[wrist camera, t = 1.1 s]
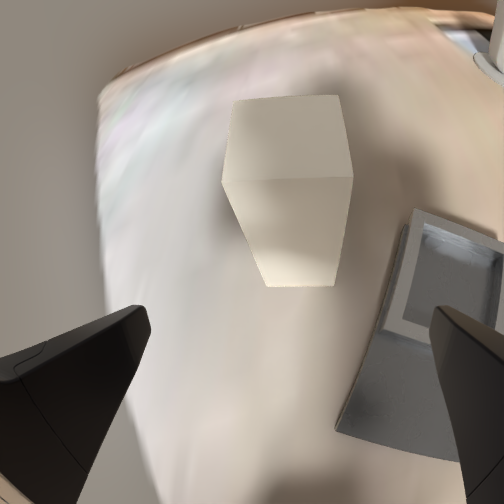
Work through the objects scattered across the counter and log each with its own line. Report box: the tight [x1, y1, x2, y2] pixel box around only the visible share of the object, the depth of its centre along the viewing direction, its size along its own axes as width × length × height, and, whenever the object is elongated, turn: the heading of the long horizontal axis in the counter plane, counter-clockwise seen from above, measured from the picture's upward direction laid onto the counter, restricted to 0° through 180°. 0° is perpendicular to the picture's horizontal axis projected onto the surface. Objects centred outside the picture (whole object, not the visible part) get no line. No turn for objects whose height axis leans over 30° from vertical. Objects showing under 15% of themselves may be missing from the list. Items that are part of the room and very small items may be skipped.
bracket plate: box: [335, 208, 504, 462], centre depth 18 cm, size 17×12×2 cm
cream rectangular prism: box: [221, 95, 354, 287], centre depth 18 cm, size 5×5×13 cm
